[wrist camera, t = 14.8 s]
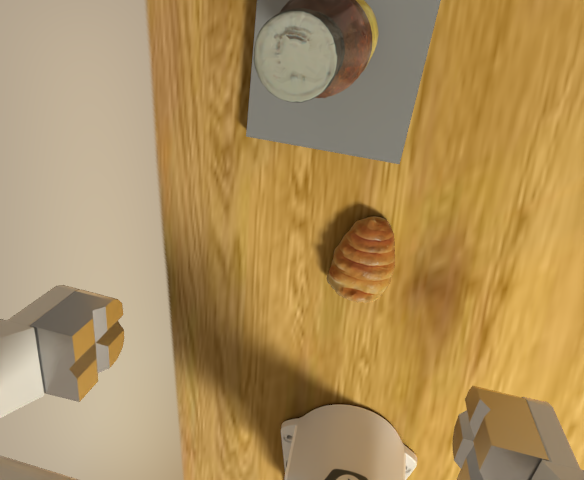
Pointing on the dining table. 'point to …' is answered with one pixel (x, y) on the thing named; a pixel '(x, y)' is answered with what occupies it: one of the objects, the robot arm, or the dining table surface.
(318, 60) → the sauce bottle
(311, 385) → the dining table surface
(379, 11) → the serving board
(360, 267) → the pastry
